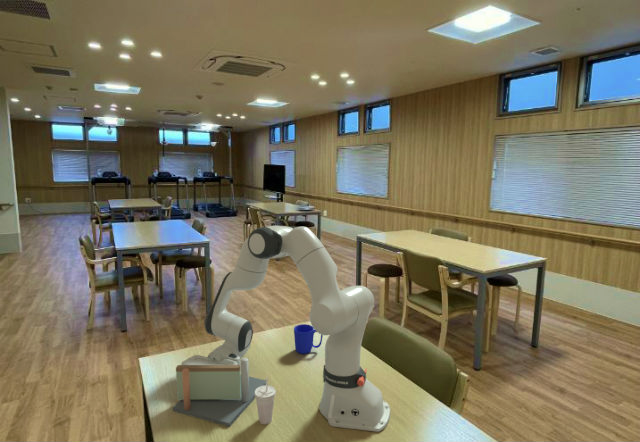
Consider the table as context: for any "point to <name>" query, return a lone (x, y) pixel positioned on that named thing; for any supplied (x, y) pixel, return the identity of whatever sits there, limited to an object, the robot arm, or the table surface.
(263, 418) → the smoothie
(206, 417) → the board
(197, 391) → the panel
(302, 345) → the mug
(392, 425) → the table surface
